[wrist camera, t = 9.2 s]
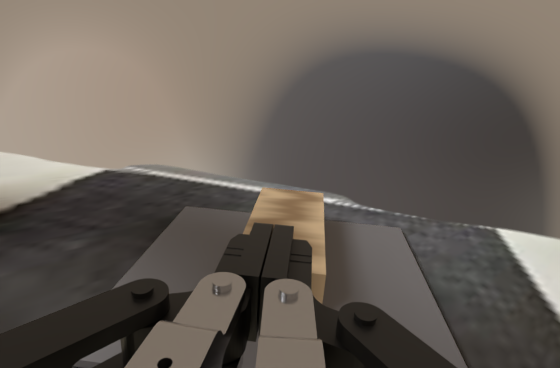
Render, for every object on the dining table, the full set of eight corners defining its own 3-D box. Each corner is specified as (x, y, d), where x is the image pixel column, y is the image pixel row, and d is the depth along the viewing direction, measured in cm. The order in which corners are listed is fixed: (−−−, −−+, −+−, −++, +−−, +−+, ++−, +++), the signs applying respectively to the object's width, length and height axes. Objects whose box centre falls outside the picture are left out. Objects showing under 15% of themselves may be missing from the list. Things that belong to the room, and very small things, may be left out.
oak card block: (229, 264, 22) (262, 187, 35) (229, 303, 23) (261, 214, 36) (326, 274, 22) (323, 193, 35) (321, 314, 23) (320, 220, 36)
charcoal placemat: (53, 363, 19) (51, 356, 19) (185, 210, 37) (185, 206, 37) (487, 423, 17) (490, 416, 17) (399, 232, 36) (400, 227, 36)
